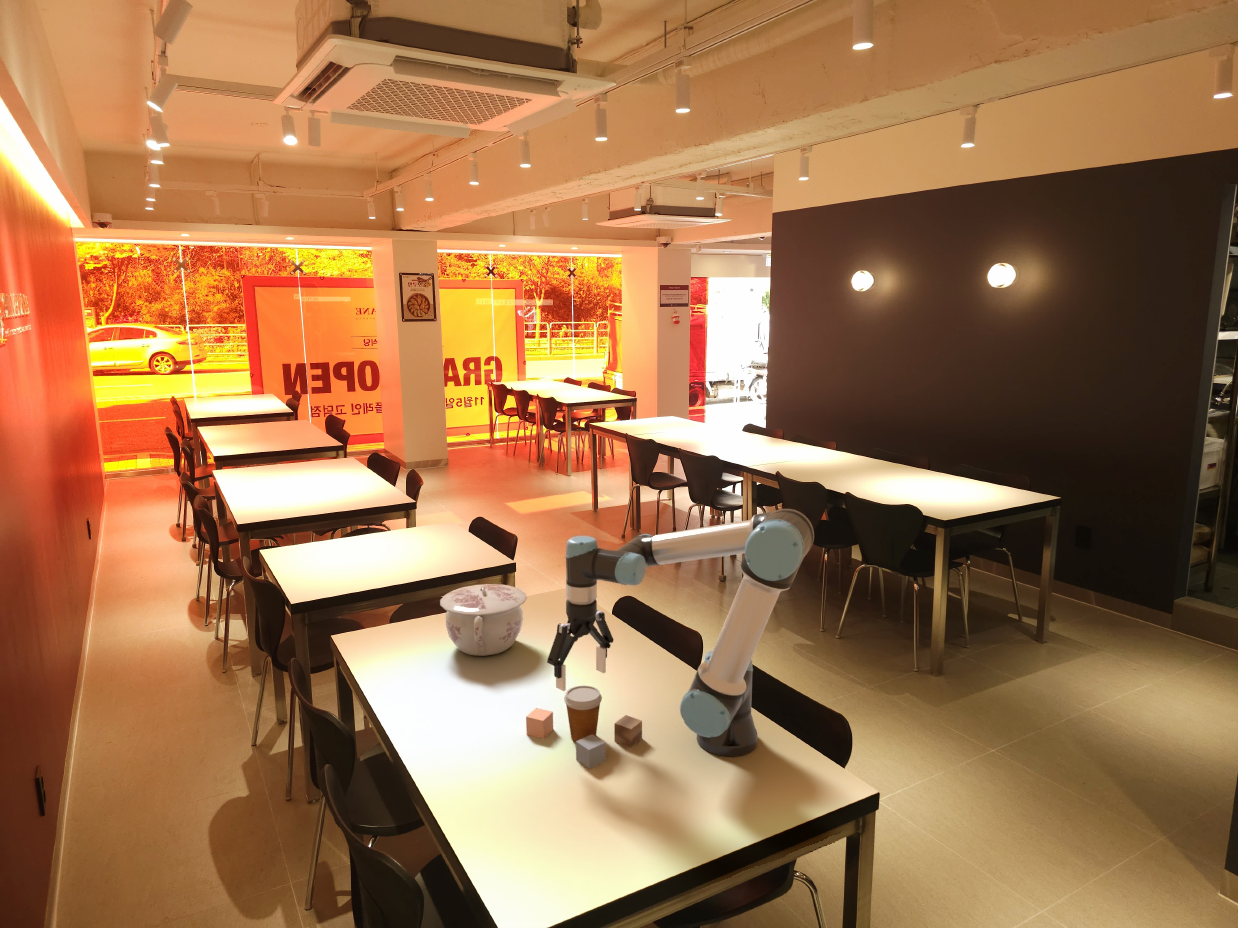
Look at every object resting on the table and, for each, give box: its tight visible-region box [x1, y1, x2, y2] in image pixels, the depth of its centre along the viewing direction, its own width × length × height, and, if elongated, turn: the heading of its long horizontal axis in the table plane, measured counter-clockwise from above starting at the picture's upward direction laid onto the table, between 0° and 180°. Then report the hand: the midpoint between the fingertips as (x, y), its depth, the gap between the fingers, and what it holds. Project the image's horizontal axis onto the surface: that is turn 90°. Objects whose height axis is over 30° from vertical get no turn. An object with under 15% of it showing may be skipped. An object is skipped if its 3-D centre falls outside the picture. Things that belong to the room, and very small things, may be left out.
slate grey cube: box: [575, 734, 606, 770], centre depth 185 cm, size 5×5×5 cm
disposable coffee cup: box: [563, 684, 603, 743], centre depth 195 cm, size 10×10×12 cm
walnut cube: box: [613, 714, 643, 748], centre depth 194 cm, size 5×5×5 cm
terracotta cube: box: [525, 707, 554, 739], centre depth 198 cm, size 5×5×5 cm
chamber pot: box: [439, 583, 528, 657], centre depth 248 cm, size 28×28×21 cm
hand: (581, 679), depth 193 cm, fingers open, 13 cm apart
